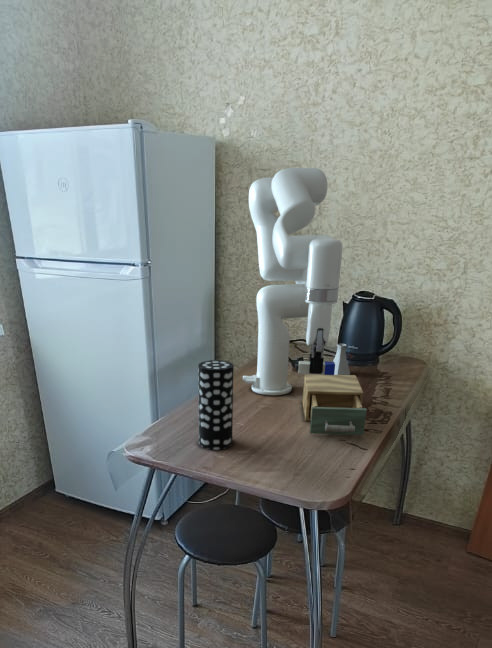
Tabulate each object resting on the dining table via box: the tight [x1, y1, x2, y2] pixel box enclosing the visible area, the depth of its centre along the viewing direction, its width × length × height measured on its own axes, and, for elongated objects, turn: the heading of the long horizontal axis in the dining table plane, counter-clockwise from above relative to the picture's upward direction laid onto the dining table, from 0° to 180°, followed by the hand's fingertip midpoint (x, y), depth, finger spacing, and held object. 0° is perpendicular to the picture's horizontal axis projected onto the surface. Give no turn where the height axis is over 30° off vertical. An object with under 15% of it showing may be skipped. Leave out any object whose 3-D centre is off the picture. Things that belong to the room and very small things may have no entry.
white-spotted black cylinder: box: [197, 359, 234, 451], centre depth 140 cm, size 8×8×20 cm
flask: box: [332, 343, 351, 375], centre depth 195 cm, size 7×7×10 cm
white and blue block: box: [294, 360, 335, 375], centre depth 144 cm, size 10×3×3 cm, turn 83°
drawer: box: [309, 394, 368, 436], centre depth 149 cm, size 20×13×7 cm
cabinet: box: [302, 374, 364, 422], centre depth 162 cm, size 16×15×9 cm
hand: (315, 370), depth 144 cm, fingers closed on white and blue block, 2 cm apart
